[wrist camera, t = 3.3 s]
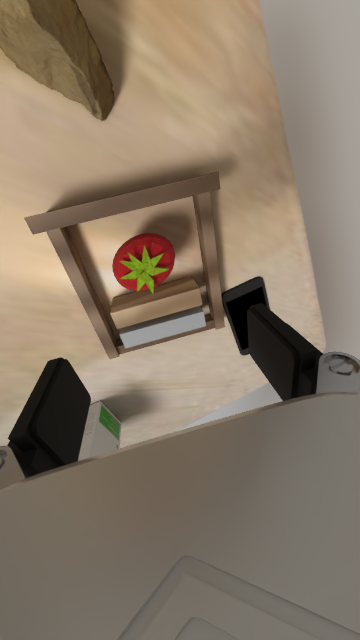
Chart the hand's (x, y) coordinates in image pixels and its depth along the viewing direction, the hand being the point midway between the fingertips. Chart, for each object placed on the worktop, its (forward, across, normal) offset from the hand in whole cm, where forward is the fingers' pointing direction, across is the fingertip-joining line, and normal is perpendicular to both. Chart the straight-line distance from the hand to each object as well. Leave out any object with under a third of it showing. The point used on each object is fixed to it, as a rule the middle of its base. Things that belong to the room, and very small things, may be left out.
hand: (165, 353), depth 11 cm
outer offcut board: (+22, 0, +10) cm, 24 cm away
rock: (+22, +4, -18) cm, 29 cm away
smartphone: (+23, -15, +16) cm, 31 cm away
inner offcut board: (+22, 0, +6) cm, 23 cm away
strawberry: (+22, 0, 0) cm, 22 cm away
